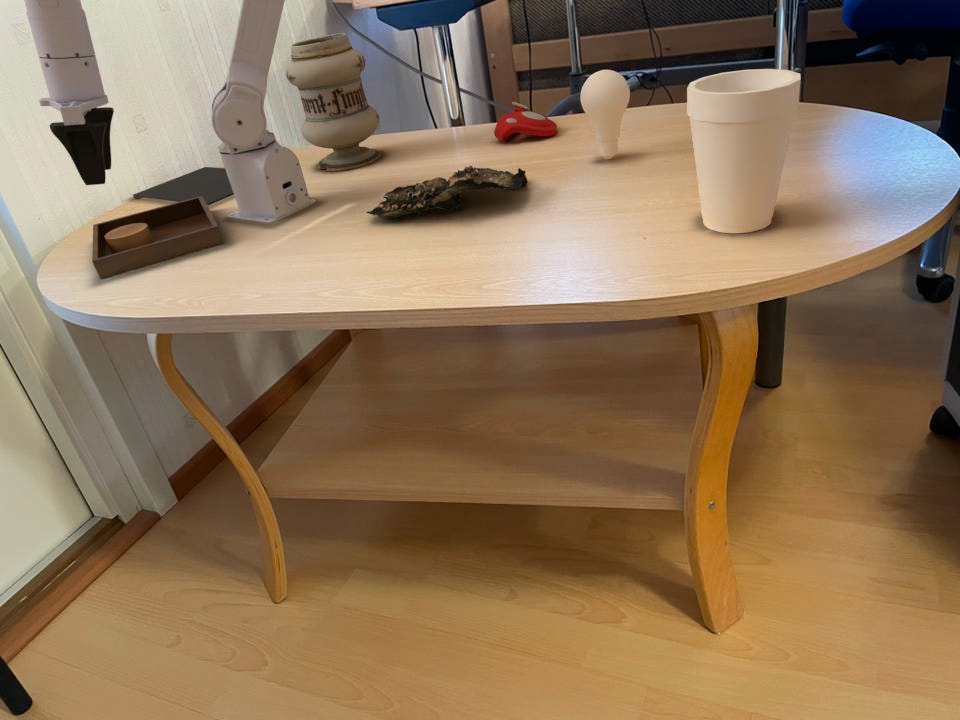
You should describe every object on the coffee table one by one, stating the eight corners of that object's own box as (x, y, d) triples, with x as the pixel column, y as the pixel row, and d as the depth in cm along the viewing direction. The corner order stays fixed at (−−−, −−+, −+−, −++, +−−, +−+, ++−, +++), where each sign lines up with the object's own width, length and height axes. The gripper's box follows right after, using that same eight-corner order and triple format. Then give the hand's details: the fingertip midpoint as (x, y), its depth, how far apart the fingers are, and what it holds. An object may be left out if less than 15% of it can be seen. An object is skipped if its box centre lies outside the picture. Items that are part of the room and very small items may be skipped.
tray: (225, 246, 85) (218, 225, 83) (101, 282, 80) (92, 261, 79) (208, 213, 98) (201, 195, 96) (101, 243, 93) (92, 224, 92)
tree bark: (350, 201, 79) (379, 153, 91) (367, 249, 82) (393, 197, 94) (515, 171, 75) (523, 126, 87) (525, 223, 78) (532, 173, 90)
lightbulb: (639, 152, 92) (636, 63, 86) (621, 167, 88) (617, 75, 82) (596, 151, 95) (591, 65, 90) (577, 165, 91) (570, 77, 85)
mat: (282, 175, 109) (281, 172, 109) (209, 207, 100) (207, 203, 100) (206, 170, 120) (205, 166, 120) (134, 198, 111) (132, 194, 111)
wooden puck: (161, 239, 89) (155, 224, 88) (124, 255, 86) (118, 240, 85) (139, 235, 92) (133, 221, 91) (103, 251, 89) (96, 236, 88)
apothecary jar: (296, 170, 111) (261, 48, 102) (353, 148, 118) (326, 32, 109) (344, 176, 103) (311, 45, 94) (402, 152, 111) (377, 28, 101)
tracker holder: (572, 123, 106) (518, 123, 100) (564, 151, 108) (512, 153, 103) (526, 96, 113) (475, 95, 108) (520, 124, 116) (470, 124, 111)
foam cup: (757, 246, 63) (766, 96, 56) (668, 230, 69) (666, 92, 62) (806, 211, 68) (820, 69, 61) (719, 198, 74) (723, 68, 67)
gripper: (39, 52, 84) (70, 166, 91) (14, 63, 72) (53, 194, 79) (103, 50, 86) (130, 161, 93) (89, 61, 74) (121, 188, 81)
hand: (99, 176), depth 86 cm, fingers open, 7 cm apart
